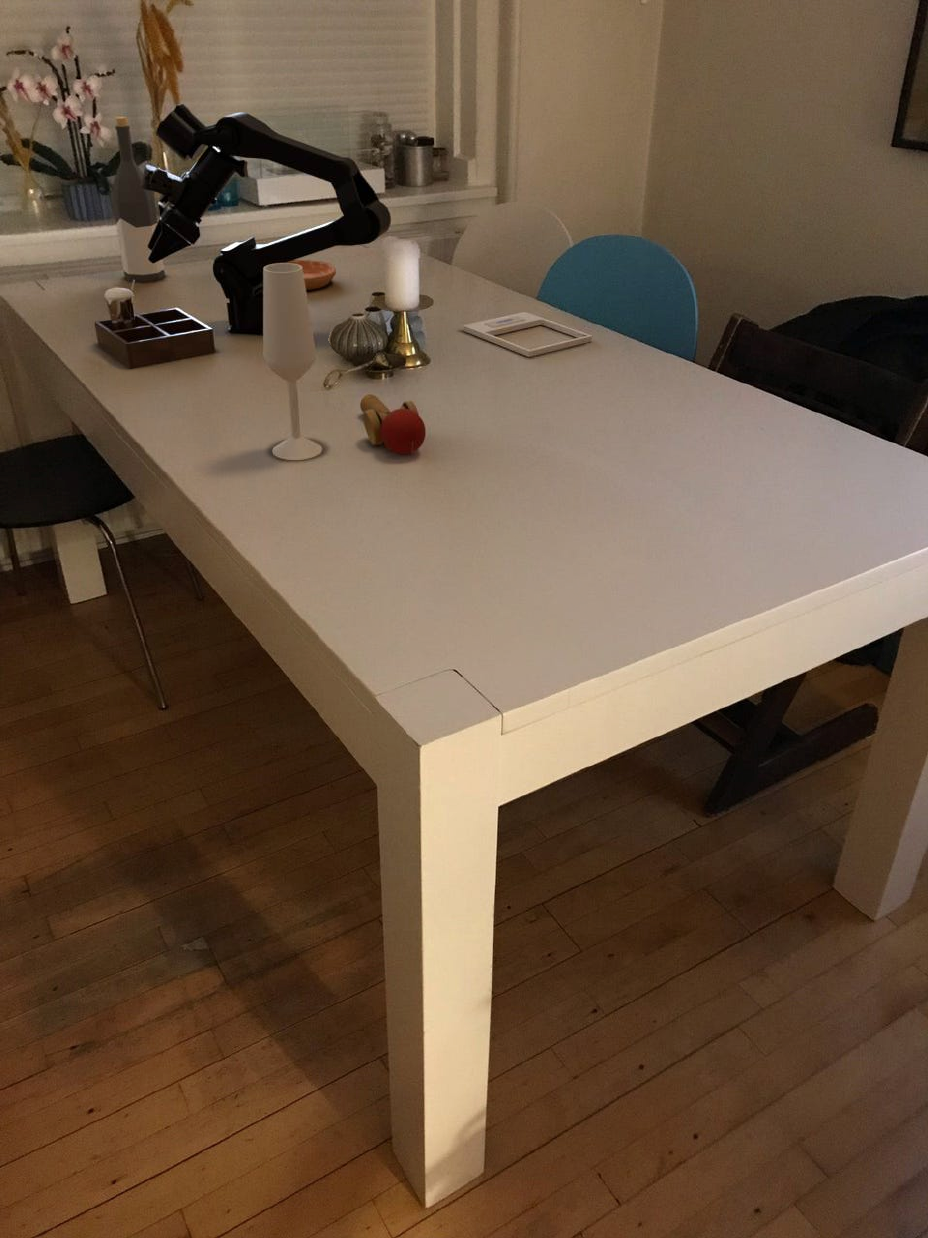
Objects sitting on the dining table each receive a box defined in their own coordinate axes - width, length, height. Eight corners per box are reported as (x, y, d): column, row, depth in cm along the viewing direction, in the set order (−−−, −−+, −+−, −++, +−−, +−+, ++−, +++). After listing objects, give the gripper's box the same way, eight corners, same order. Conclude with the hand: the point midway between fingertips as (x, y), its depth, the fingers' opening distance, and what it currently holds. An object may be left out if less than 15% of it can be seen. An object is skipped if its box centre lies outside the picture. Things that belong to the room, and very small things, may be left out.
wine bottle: (173, 276, 215) (151, 116, 199) (144, 284, 209) (119, 121, 193) (145, 270, 218) (122, 113, 202) (116, 278, 212) (89, 117, 196)
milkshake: (149, 342, 176) (140, 282, 170) (120, 348, 172) (110, 287, 167) (136, 336, 178) (127, 276, 173) (108, 342, 175) (97, 282, 170)
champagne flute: (267, 443, 141) (250, 263, 128) (315, 437, 143) (303, 259, 130) (277, 462, 136) (261, 276, 123) (327, 456, 138) (316, 272, 125)
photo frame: (525, 310, 192) (592, 334, 180) (524, 316, 193) (592, 341, 181) (463, 324, 184) (529, 350, 173) (463, 330, 185) (529, 356, 173)
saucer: (252, 276, 216) (251, 261, 214) (328, 271, 220) (327, 256, 218) (263, 296, 203) (262, 281, 201) (343, 290, 207) (343, 275, 205)
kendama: (340, 427, 150) (379, 457, 135) (344, 383, 148) (383, 409, 132) (390, 429, 153) (434, 459, 138) (395, 386, 151) (439, 412, 135)
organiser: (180, 330, 184) (177, 307, 182) (215, 352, 174) (212, 328, 172) (98, 344, 176) (94, 321, 174) (129, 368, 166) (125, 344, 164)
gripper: (163, 137, 176) (109, 211, 179) (166, 155, 160) (107, 234, 164) (217, 183, 181) (164, 254, 185) (224, 204, 166) (166, 280, 170)
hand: (150, 254), depth 176 cm, fingers open, 9 cm apart
